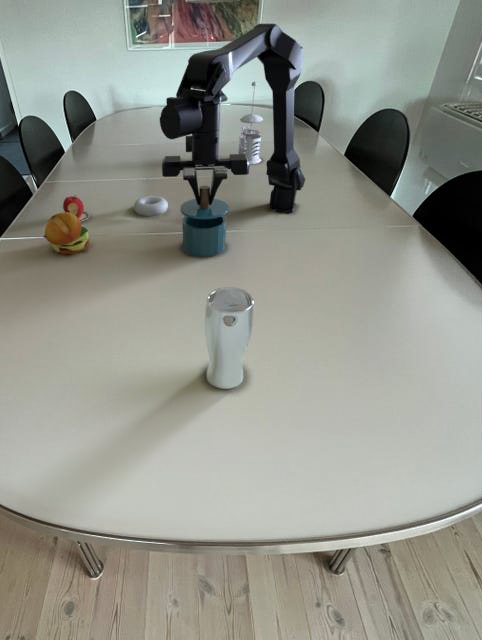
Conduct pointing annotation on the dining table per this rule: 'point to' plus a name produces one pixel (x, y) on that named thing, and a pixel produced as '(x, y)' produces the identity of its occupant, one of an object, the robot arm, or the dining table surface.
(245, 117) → the french press
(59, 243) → the cheeseburger
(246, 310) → the beer glass
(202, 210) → the lid
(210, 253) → the canister
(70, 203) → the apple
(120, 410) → the dining table surface
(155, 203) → the donut
